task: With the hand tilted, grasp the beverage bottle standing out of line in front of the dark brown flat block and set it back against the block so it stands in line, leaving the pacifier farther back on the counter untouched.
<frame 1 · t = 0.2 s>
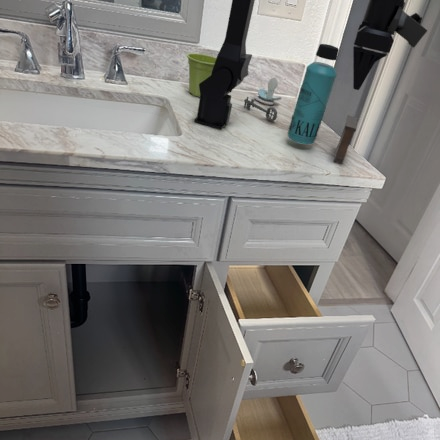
hand: (356, 84, 83), 15 cm above the worktop, tool pointing down, fingers open, 9 cm apart
pacifier: (265, 102, 117), on the worktop
plant pot: (200, 95, 111), on the worktop
beverage bottle: (298, 146, 94), on the worktop
key: (258, 116, 107), on the worktop
dark brown flat block: (338, 156, 93), on the worktop
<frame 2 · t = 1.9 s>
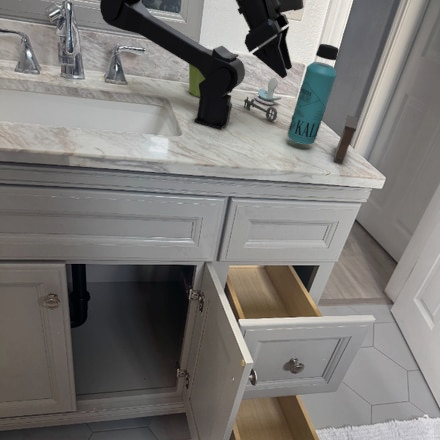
hand: (287, 72, 86), 14 cm above the worktop, tool tilted 45°, fingers open, 9 cm apart
nothing on the worktop moved.
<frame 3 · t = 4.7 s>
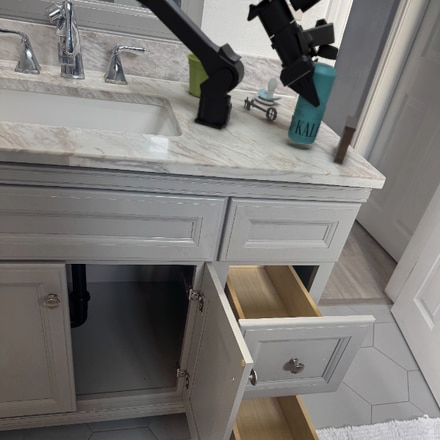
hand: (318, 102, 88), 10 cm above the worktop, tool tilted 45°, fingers closed on beverage bottle, 6 cm apart
beverage bottle: (298, 146, 94), on the worktop, touching gripper
everything else where it was.
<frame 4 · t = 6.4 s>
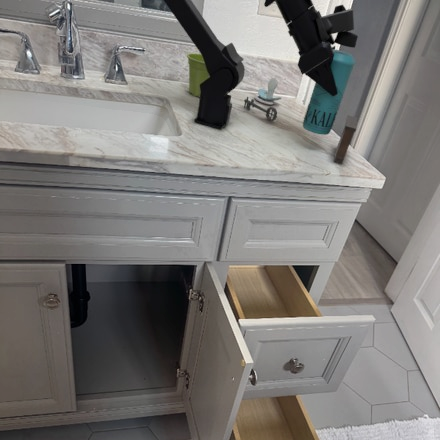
hand: (335, 91, 86), 12 cm above the worktop, tool tilted 45°, fingers closed on beverage bottle, 6 cm apart
beverage bottle: (313, 137, 93), point 3 cm above the worktop, touching gripper
everything else where it was.
when the fingers open (10 cm above the worktop, at t = 8.2 s): beverage bottle stays where it is, on the worktop.
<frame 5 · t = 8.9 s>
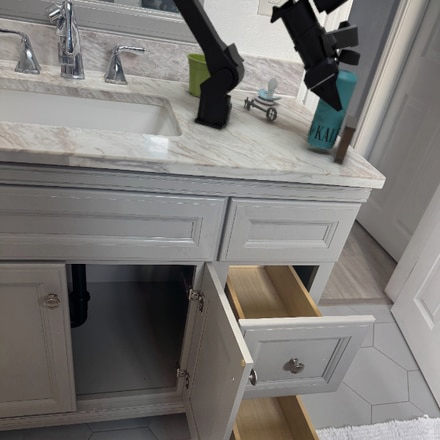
hand: (340, 105, 87), 10 cm above the worktop, tool tilted 45°, fingers open, 9 cm apart
beverage bottle: (317, 151, 94), on the worktop
everything else where it was.
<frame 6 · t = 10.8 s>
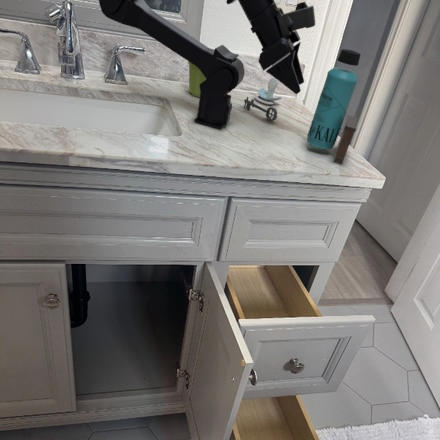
hand: (300, 87, 87), 11 cm above the worktop, tool tilted 45°, fingers open, 9 cm apart
nothing on the worktop moved.
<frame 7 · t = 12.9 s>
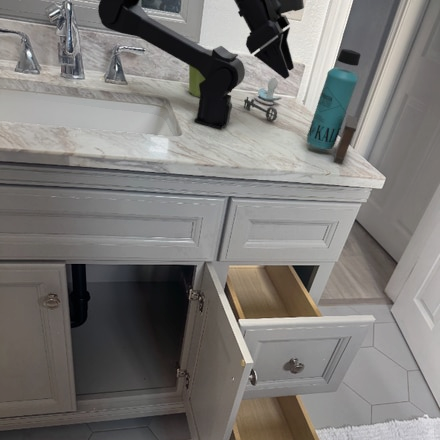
hand: (289, 73, 86), 14 cm above the worktop, tool tilted 45°, fingers open, 9 cm apart
nothing on the worktop moved.
at the end: beverage bottle 0.1 cm from the target spot on the worktop beside the dark brown flat block, on the worktop; beverage bottle tilted 0°; pacifier moved 0.2 cm from its start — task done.
